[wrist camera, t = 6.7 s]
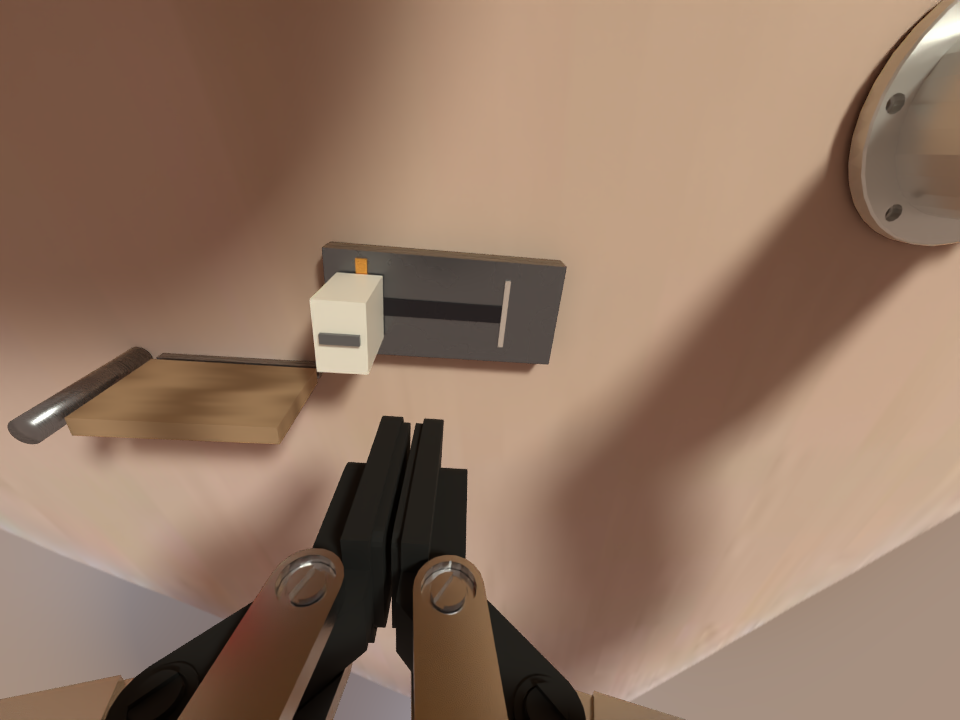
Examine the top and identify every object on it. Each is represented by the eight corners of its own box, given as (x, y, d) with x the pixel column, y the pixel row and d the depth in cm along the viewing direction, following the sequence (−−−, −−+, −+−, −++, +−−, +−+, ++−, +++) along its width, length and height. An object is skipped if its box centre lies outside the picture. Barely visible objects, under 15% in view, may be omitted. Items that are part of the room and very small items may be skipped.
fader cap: (382, 275, 22) (364, 304, 18) (383, 337, 23) (367, 376, 19) (336, 272, 22) (307, 300, 18) (341, 334, 23) (315, 373, 19)
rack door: (316, 368, 25) (277, 427, 20) (317, 384, 25) (280, 446, 20) (151, 358, 24) (64, 418, 19) (156, 375, 25) (73, 437, 19)
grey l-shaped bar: (320, 358, 26) (272, 430, 19) (322, 377, 26) (276, 454, 20) (124, 346, 25) (2, 418, 18) (131, 366, 25) (15, 443, 19)
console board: (560, 260, 24) (567, 267, 22) (543, 353, 26) (548, 365, 25) (330, 241, 23) (321, 247, 21) (337, 340, 25) (329, 352, 24)
